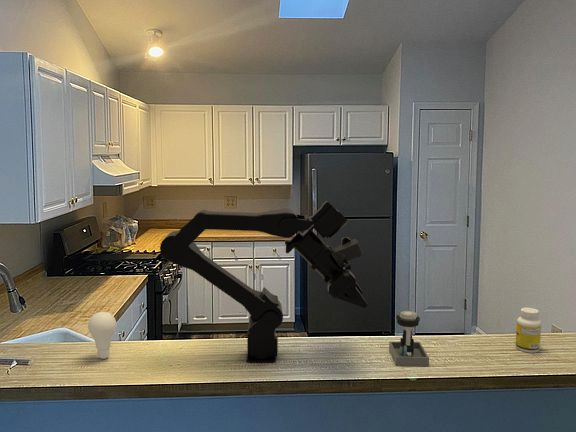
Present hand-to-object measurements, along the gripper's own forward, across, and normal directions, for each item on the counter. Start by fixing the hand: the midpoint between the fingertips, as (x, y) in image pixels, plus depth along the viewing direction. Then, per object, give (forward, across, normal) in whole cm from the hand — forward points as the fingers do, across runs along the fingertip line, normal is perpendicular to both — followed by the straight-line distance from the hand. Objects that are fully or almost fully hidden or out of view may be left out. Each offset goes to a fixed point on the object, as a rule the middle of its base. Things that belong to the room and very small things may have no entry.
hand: (364, 300), depth 124 cm
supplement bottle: (+38, +6, -19) cm, 43 cm away
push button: (+17, 0, +2) cm, 17 cm away
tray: (+17, 0, +2) cm, 17 cm away
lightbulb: (-32, -3, +52) cm, 61 cm away
